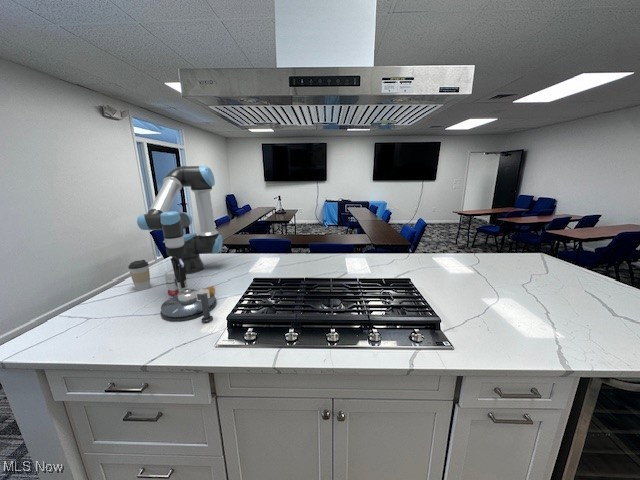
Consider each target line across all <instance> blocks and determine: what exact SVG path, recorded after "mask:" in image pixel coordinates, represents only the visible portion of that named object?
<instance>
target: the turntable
mask: <svg viewBox="0 0 640 480" xmlns="http://www.w3.org/2000/svg"><path fill="white" fill-rule="evenodd" d="M202 289H209V294H210V298H208V303H209V308H211V307H212V306H213V305H214V303H215V298H216V296H215V295H216V292H215V291H216V290H215V286H214V285H212V286H207V287H203V288H202ZM198 291H199V290H197V292H198ZM160 312H162V315H164V316H165V317H168V318H185V317H190V316H194V315H197V314H200V313H202V312H203V309H202V302H201V301H197V302H195V303H193V304H190V305H180V304H179V301H178V295H173V296H171V297H169V298H168V299H166V300H165V301H164V302H162V304H161V305H160Z"/></svg>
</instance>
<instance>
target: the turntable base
mask: <svg viewBox="0 0 640 480" xmlns="http://www.w3.org/2000/svg"><path fill="white" fill-rule="evenodd" d="M217 301H218V300H217V298H216V297H215V303H214V305H213V306H212V307H211V308H209V310H210V312H211V311H213V310H214V309H215V308H216V307H217V304H218V302H217ZM160 317H161V319H162V320H164V321H166V322H170V323H171V322H173V323H175V322H177V323H178V322H186V321H187V322H188V321H191V320H195V319H197V318H200V317H204V316H203V312H202V313H200V314H197V315H194V316H190V317H185V318H168V317H165V316H164V315H162V312H161V311H160Z"/></svg>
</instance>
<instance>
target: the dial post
mask: <svg viewBox="0 0 640 480" xmlns="http://www.w3.org/2000/svg"><path fill="white" fill-rule="evenodd" d="M197 291H198V292H196V298H197V301H201V302H202V309H203V316H202V318H201V323H203V324H208V323H211V322H213V321H214V316H213V315H211V311H210V310H209V303H208V298H210V294H209V289H203V288H200V289H199V290H197Z"/></svg>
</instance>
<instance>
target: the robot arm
mask: <svg viewBox="0 0 640 480" xmlns="http://www.w3.org/2000/svg"><path fill="white" fill-rule="evenodd" d="M214 176H215V175H214V173H213V171H212V169H211V168H210V167H209V166H208V165H207V166H206V165H193V166H192V165H190V166H188V165H183V166H182V165H181V166H177V167H175V168H173V169H171V170H170V171H168V172H167V174H166V175H165V176H164V178H163V179H162V187H160V190H159V191H158V193H157V195H156V197H155V199H154V200H153V202H152V204H151V206H150V208H149V210H148V211H147V212H146V213H143V214H140V215H138V216H137V219H136V224H137V226H138V228H139V229H140V230H143V231H158V230H159V231H161V230H162V233H163V239H164V240H163V241H162V243H163V244H165V251H166V255H167V256H168V257H171V258H170V261H171V266H172V270H174V274H175V278H177V283H178V287H179V293H180V292H181V291H183V290H185V289H186V285H185V281H186V282H187V274H193V273H197V272H200V271H203V269H204V268H205V264H204V263H203V260H202V258H201V257H200V255H202V254H203V255H204V254H206V255H207V254H213V255H214V254H219V253H220V252H221V251H222V249H223V243H224V242H223V239H224V238H223V236H222V234H220V233H219V231H218V230H217V229H216V225H215V224H216V223H215V217H214V212H213V211H214V210H213V203H212V197H211V191H212V190H213V187H214V186H215V177H214ZM185 187H190V190H191V191H192V192H193V193H194V198H195V205H196V211H197V217H198V221H199V229H200V231H199V232H198V234H197V233H196V232H192V233H187V234H183V233H184V232H183V230H184V229H187V228H188V227H190V226H191V224H192V223H193V217H192V216H191V214H189V213H188V212H183V211H182V212H180V211H179V212H178V211H175V210H174V211H173V210H172V211H170V209H171V206H172V204H173V203H174V200H175V198H176V196H177V194H178V192H179V191H181V190H182V188H185Z"/></svg>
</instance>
